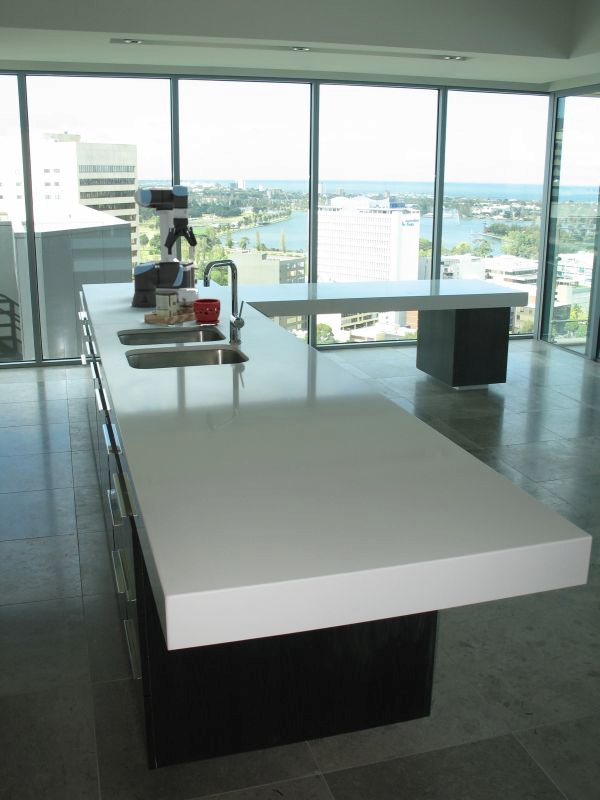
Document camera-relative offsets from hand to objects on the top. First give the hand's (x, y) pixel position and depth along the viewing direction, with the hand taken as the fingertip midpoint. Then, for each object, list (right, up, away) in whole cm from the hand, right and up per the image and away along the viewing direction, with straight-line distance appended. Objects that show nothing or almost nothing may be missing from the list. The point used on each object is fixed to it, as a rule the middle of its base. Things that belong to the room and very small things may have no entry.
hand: (181, 260), depth 421 cm
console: (-9, -28, +7) cm, 30 cm away
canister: (+3, -28, +2) cm, 29 cm away
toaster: (-17, -10, +76) cm, 79 cm away
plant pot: (+15, -34, -14) cm, 40 cm away
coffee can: (-6, -31, -9) cm, 33 cm away
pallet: (-1, -31, -3) cm, 31 cm away
